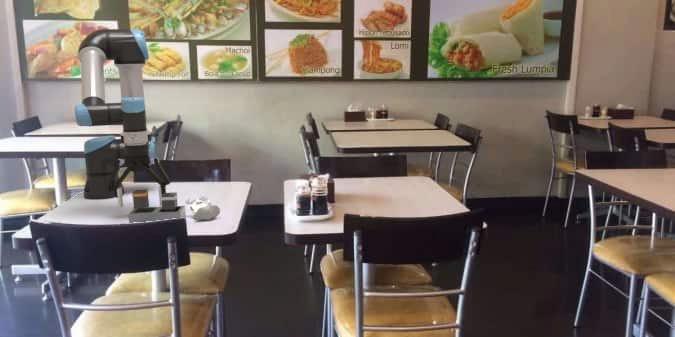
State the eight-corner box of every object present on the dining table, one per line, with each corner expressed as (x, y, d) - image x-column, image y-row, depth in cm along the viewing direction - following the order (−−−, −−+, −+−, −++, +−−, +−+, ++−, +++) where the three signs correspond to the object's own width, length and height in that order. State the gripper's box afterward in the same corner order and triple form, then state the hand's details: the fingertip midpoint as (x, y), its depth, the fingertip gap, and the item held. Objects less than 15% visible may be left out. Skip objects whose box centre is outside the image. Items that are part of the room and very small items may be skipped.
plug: (137, 215, 196) (135, 189, 195) (150, 214, 197) (148, 189, 195) (134, 218, 192) (132, 192, 191) (147, 217, 193) (145, 191, 191)
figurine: (195, 210, 184) (181, 197, 193) (196, 228, 186) (183, 214, 195) (222, 204, 188) (208, 192, 198) (222, 221, 191) (209, 208, 200)
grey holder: (136, 222, 187) (134, 192, 185) (186, 220, 188) (184, 190, 187) (129, 229, 179) (127, 198, 178) (181, 227, 181) (179, 196, 179)
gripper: (93, 146, 185) (100, 210, 189) (172, 144, 187) (176, 207, 191) (101, 143, 193) (107, 205, 196) (176, 141, 195) (180, 202, 198)
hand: (141, 206), depth 194 cm, fingers open, 13 cm apart
